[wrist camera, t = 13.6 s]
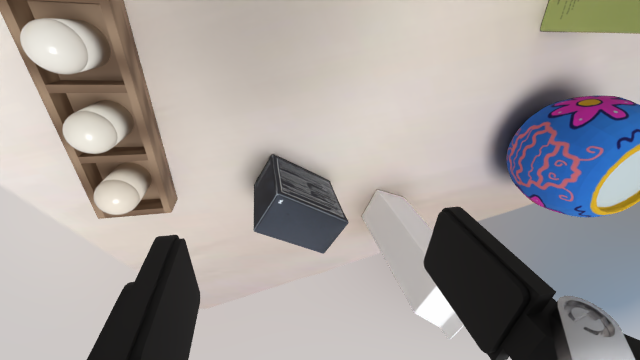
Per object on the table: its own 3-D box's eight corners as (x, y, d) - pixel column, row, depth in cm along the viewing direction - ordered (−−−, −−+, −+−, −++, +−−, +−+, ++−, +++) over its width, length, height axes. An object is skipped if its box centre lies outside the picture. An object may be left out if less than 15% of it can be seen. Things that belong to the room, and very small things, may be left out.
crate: (18, -10, 25) (-12, -14, 22) (122, -4, 26) (106, -7, 24) (110, 203, 37) (98, 218, 34) (177, 198, 38) (171, 212, 36)
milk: (360, 216, 47) (427, 340, 29) (376, 188, 45) (460, 304, 26) (388, 222, 50) (466, 342, 31) (405, 196, 47) (500, 309, 28)
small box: (251, 187, 40) (250, 233, 31) (271, 152, 38) (276, 191, 29) (310, 210, 45) (323, 257, 36) (331, 180, 42) (351, 221, 34)
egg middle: (83, 100, 29) (42, 117, 24) (127, 100, 30) (98, 117, 25) (97, 137, 32) (63, 161, 26) (138, 136, 32) (113, 160, 27)
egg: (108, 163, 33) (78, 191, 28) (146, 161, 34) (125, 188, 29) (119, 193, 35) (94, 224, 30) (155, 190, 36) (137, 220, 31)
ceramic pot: (549, 178, 52) (642, 226, 40) (471, 183, 49) (546, 239, 36) (599, 85, 44) (739, 110, 31) (509, 84, 40) (625, 112, 28)
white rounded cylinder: (49, 18, 26) (-9, 16, 20) (101, 20, 26) (60, 19, 21) (69, 67, 28) (22, 78, 22) (116, 68, 29) (82, 78, 23)
